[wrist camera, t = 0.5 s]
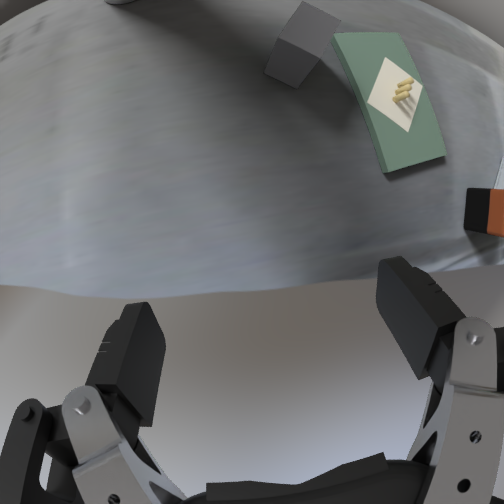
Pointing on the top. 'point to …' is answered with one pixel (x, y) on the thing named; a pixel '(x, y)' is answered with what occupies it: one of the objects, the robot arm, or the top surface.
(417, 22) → the top surface
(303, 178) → the top surface
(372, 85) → the board
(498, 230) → the battery
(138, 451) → the robot arm
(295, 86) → the dark grey rectangular block
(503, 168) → the tea box
